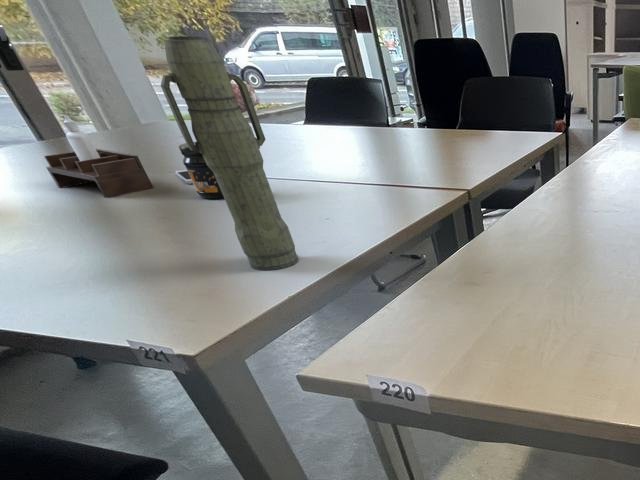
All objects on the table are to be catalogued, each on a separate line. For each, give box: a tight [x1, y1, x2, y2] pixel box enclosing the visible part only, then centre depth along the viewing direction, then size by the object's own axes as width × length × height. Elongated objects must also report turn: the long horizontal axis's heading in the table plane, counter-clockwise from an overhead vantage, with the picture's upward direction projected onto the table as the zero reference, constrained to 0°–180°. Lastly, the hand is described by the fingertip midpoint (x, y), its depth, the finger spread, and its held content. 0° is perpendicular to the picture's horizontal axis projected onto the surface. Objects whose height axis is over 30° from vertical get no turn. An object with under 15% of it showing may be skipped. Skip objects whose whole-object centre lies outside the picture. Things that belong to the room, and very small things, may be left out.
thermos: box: [160, 35, 300, 271], centre depth 90 cm, size 9×12×35 cm
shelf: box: [44, 148, 154, 198], centre depth 138 cm, size 12×22×8 cm, turn 65°
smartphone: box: [174, 169, 193, 185], centre depth 151 cm, size 7×16×1 cm, turn 43°
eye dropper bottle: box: [62, 114, 100, 161], centre depth 134 cm, size 4×6×12 cm
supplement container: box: [178, 141, 224, 200], centre depth 134 cm, size 10×10×12 cm
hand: (4, 69), depth 121 cm, fingers open, 9 cm apart
